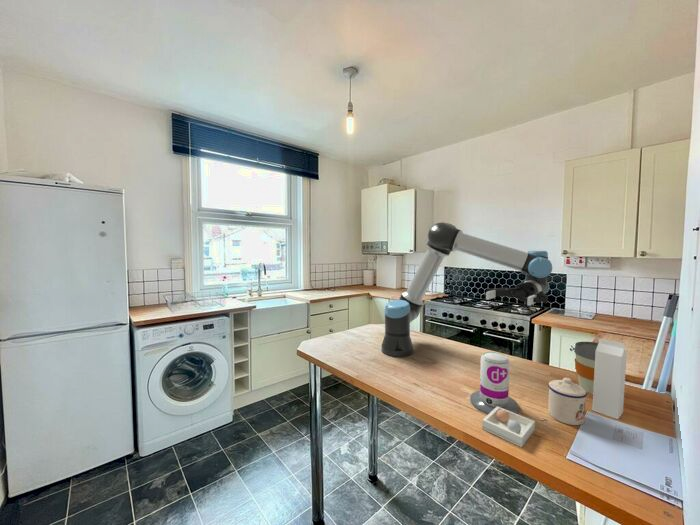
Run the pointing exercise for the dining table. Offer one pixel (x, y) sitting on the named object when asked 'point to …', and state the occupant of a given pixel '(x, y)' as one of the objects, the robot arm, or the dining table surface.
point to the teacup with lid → (566, 401)
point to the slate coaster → (487, 409)
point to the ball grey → (514, 426)
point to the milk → (609, 378)
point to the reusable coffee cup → (585, 364)
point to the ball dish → (501, 428)
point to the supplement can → (494, 379)
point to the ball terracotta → (503, 415)
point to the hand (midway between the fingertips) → (506, 298)
